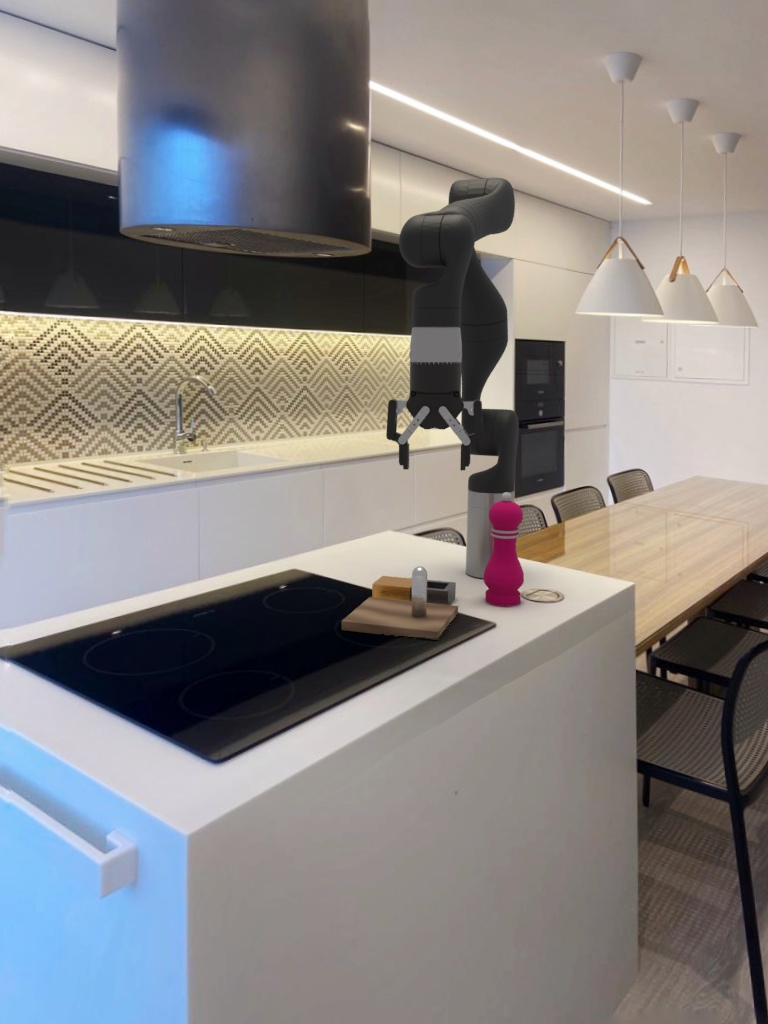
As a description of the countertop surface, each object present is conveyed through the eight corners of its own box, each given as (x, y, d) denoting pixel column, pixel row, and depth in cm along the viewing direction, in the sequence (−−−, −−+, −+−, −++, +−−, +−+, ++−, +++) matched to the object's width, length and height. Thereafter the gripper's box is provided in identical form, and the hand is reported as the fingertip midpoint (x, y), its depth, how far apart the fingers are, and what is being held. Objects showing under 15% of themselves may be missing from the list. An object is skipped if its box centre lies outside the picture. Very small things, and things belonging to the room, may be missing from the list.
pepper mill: (522, 608, 144) (526, 496, 140) (480, 606, 145) (484, 494, 142) (523, 597, 151) (528, 489, 147) (484, 594, 152) (487, 488, 148)
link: (382, 591, 154) (382, 575, 153) (455, 598, 150) (455, 582, 149) (372, 600, 148) (372, 584, 148) (447, 607, 144) (448, 591, 144)
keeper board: (369, 605, 145) (369, 597, 145) (457, 614, 141) (458, 605, 140) (341, 630, 132) (341, 621, 132) (437, 641, 127) (438, 631, 127)
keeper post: (413, 612, 137) (414, 564, 135) (428, 613, 136) (429, 565, 134) (409, 616, 134) (410, 567, 133) (424, 618, 134) (425, 569, 132)
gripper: (485, 359, 122) (482, 466, 126) (390, 358, 124) (390, 464, 128) (484, 360, 115) (481, 474, 118) (384, 359, 117) (383, 472, 120)
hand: (434, 469), depth 123 cm, fingers open, 8 cm apart
